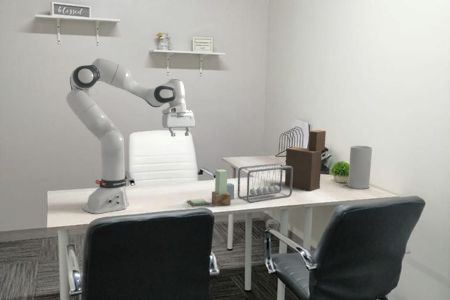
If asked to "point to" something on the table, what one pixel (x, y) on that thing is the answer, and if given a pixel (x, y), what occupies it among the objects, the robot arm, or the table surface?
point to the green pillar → (221, 182)
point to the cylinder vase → (359, 167)
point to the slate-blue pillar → (230, 190)
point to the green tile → (197, 202)
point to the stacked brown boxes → (306, 163)
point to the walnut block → (221, 199)
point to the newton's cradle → (264, 190)
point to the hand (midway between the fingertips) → (180, 136)
